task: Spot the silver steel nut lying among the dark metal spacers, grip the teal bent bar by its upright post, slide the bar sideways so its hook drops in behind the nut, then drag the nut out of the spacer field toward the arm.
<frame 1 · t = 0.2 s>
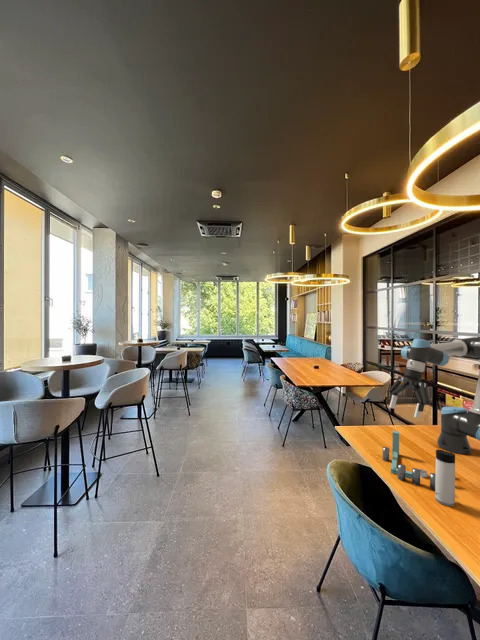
hand: (403, 412, 134), 27 cm above the table, tool tilted 15°, fingers open, 13 cm apart
spacer field: (414, 475, 129), on the table
teal bent bar: (395, 454, 149), on the table
travel mug: (444, 502, 110), on the table
steel nut: (422, 475, 129), on the table
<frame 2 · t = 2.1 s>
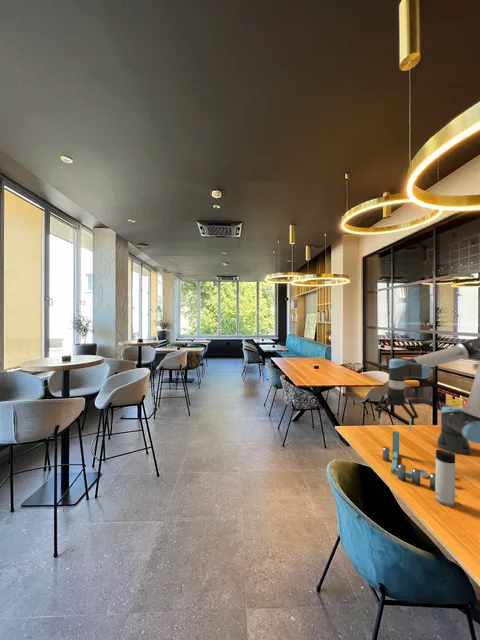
hand: (395, 427, 149), 15 cm above the table, tool pointing down, fingers open, 13 cm apart
nothing on the table moved.
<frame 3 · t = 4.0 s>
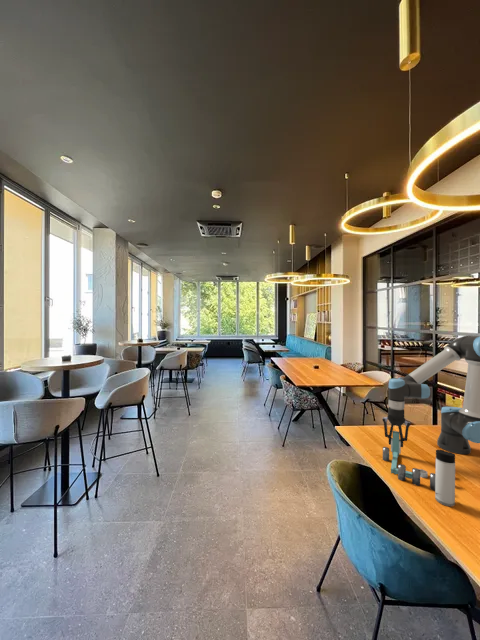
hand: (395, 451, 149), 2 cm above the table, tool pointing down, fingers closed on teal bent bar, 3 cm apart
teal bent bar: (395, 454, 149), on the table, touching gripper
everything else where it was.
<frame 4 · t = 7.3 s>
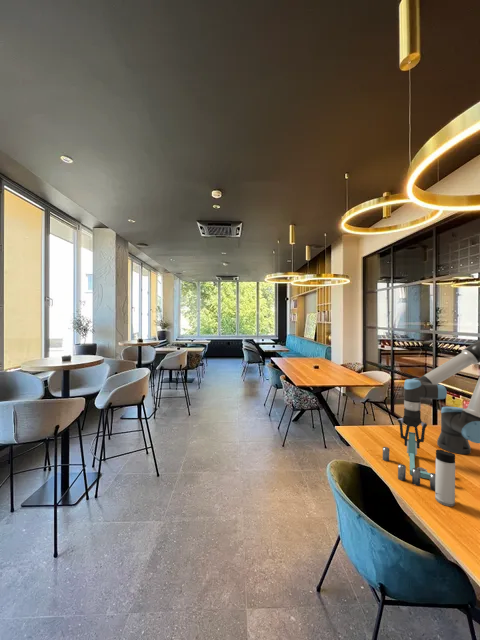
hand: (411, 453, 148), 2 cm above the table, tool pointing down, fingers closed on teal bent bar, 3 cm apart
teal bent bar: (411, 455, 148), on the table, touching gripper, steel nut
steel nut: (422, 473, 130), on the table, touching teal bent bar
everything else where it was.
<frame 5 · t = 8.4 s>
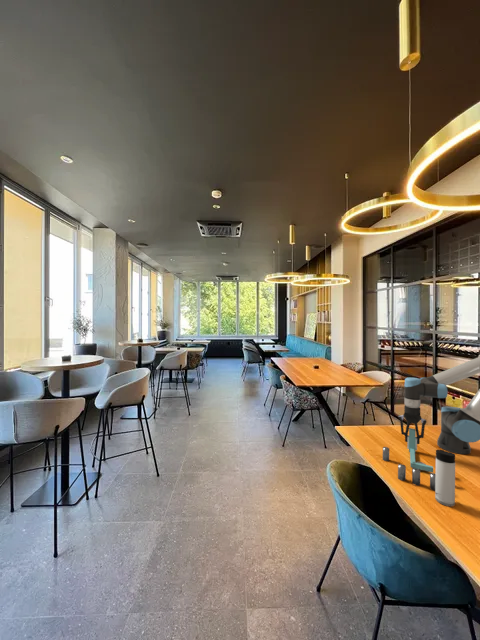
hand: (412, 448, 153), 1 cm above the table, tool pointing down, fingers closed on teal bent bar, 3 cm apart
teal bent bar: (412, 451, 153), on the table, touching gripper
steel nut: (420, 468, 135), on the table
everything else where it was.
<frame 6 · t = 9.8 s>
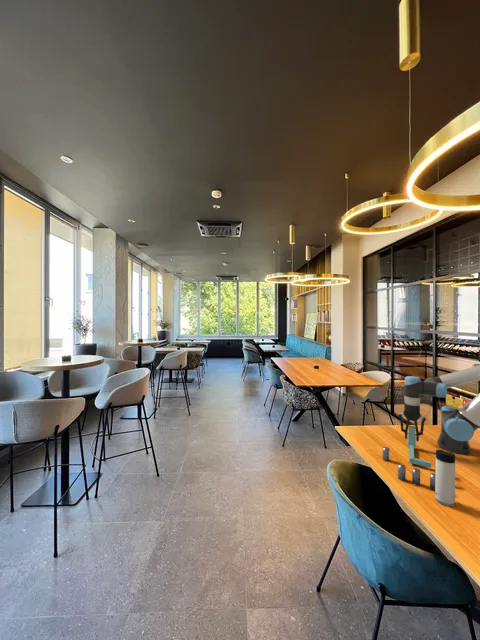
hand: (411, 445, 157), 2 cm above the table, tool pointing down, fingers closed on teal bent bar, 3 cm apart
teal bent bar: (411, 448, 156), on the table, touching gripper
steel nut: (419, 464, 139), on the table
everything else where it was.
when the fingers open (2 cm above the table, at t = 10.6 s): teal bent bar stays where it is, on the table.
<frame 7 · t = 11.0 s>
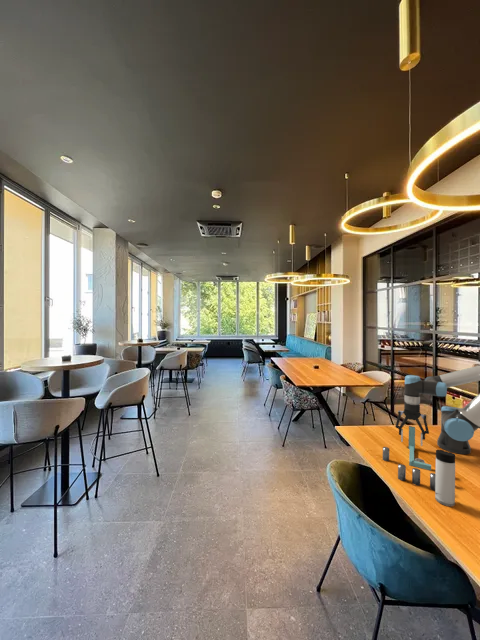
hand: (411, 442, 157), 3 cm above the table, tool pointing down, fingers open, 9 cm apart
teal bent bar: (411, 448, 156), on the table
everything else where it was.
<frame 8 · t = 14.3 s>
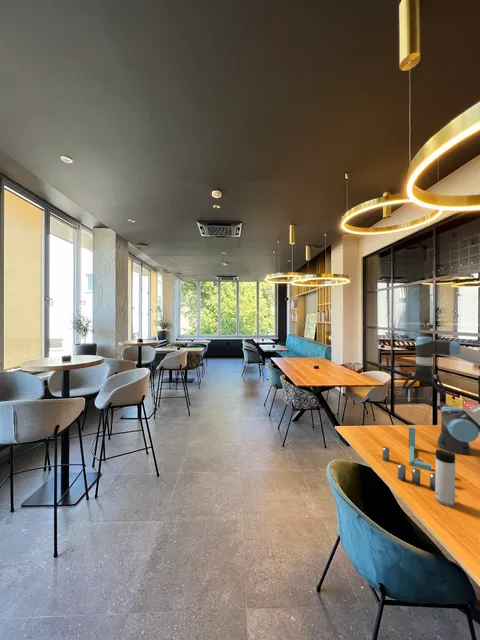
hand: (423, 403, 153), 27 cm above the table, tool pointing down, fingers open, 13 cm apart
nothing on the table moved.
at the end: steel nut inside the target area (2.6 cm from its centre), on the table; steel nut moved 11.9 cm from its start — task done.
